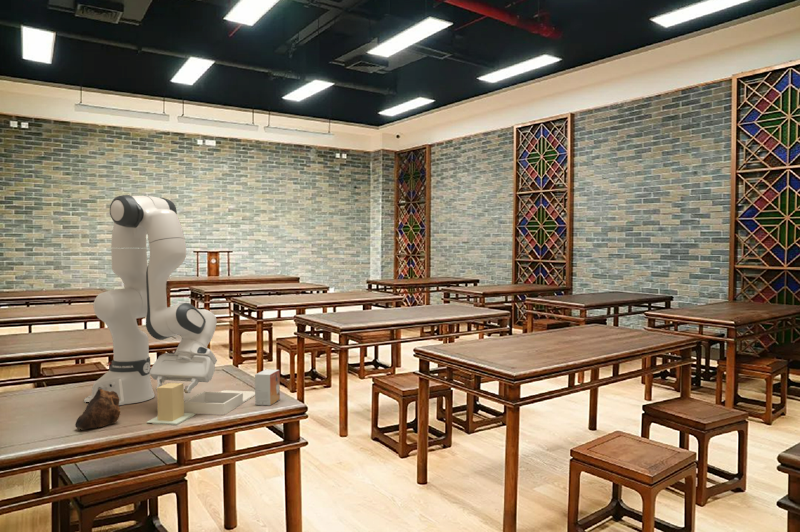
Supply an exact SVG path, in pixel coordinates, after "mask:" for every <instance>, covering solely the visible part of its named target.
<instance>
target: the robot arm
mask: <svg viewBox="0 0 800 532" xmlns="http://www.w3.org/2000/svg"><path fill="white" fill-rule="evenodd" d="M109 205H110V206H109V215H110V218H111V220H112V222H113V225H112V233H111V243H110V244H111V245H110V248H111V249H110V250H111V254H110V255H111V270H112V272H113V273H114V275H116V276H118V277H120V279H121V281H122V282H123V283H122V284H123V286H124V287H123V288H116V289H113V288H112V289H110V290H106V291H104V292H100V293H99V294H98V295H97V296H96V297H95V299H94V301H93V312H94V314H95V315H96V317H97V319H99V320H101V321H102V322H103V323H105V325H106V326H107V328H108V330H109V332H110V335H111V338H112V346H113V347H112V348H113V359H112V360H111V361H108V362H106V366H107V367H109V370H108V371H107V372H106V373H104V374H103V375H101V377H100V378H98V379H97V380H96V381H94V383H93V386H92V388H91V394H90V395H88V396H86V397H85V398H84V400H83V403H86V402H90V400H92V399H93V398H94V396H95V395H96V393H97V391H98V390H99V389H102V390H104V391H109V392H111V391H114V392H116V393H117V394H118V397H119V406H123V405H130V404H136V403H142V402H146V401H148V400H152V399H153V398H155V396H156V395H155V392H154V390H153V384H152V379H153V380H156V381H157V382H156V383H157V385H156V388H155V390H156V391H157V387H160V386H162V385H163V384H164V383H165V381H175V382H177V381H179V382H190V383H189V384H188V385H184V394H191V392H192V390H193V389H194V388H195V387H196V386H198V385H199V383H209V382H210V381H212V379H213V376H214V373H215V371H216V364H217V362H218V359H217V357H216V356H215V354H214V353H213V351H212V350H211V349H210V348H208V345H209V344H210V343H211V341H212V339H213V337H214V334H215V331H216V328H217V317H216V315H215V314H214V312H212V311H210V310H208V309H204V308H202V309H201V308H197V307H195V306H194V305H193V304H191V303H187V302H183V303H179V304H175V305H173V306H168V303H167V282H168V279H169V278H170V276H171V275H172V273H173V272H175V270H177V269H178V268H179V267H180V266H181V265H182V264H183V263H184V261H185V260H186V258H187V257H186V256H187V245H186V244H187V243H186V239H185V234H184V230H183V227H182V224H181V222H180V219H179V216H178V214H177V207H176V205H175V203H174V202H173V201H171V200H170V199H167V198H165V197H158V196H157V197H156V196H152V195H147V194H146V195H130V194H122V195H118V196H117V195H116V197H113V200H112V201H111V202H110V204H109ZM147 241H148V243H147ZM147 244H148V245H149V258H148V255H147V254H148V251H147V248H148V247H147ZM148 259H149V260H148ZM142 318H145V329H146V330H147V332H148V334H149V335H150V336H151V337H152V338H153V339H156V340H159V341H164V340H166V339H169V338H172V337H174V336H175V337H176V336H179V337H181V339H180V341H179V343H178V346H177V348H176V350H175V351H174V352H171V353H170V352H164V353H163V354H161V355H159V356H158V357H157V359H156V360H155V361H154V362H153V365H151V357H150V353H149V352H150V351H149V349H150V347H149V343H150V342H149V336H148V334H147V333H146V332H145V331H143V330H141V329H140V327H139V325H138V322H137V321H138V320H137V319H142ZM151 378H152V379H151Z"/></svg>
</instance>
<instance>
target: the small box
mask: <svg viewBox="0 0 800 532" xmlns="http://www.w3.org/2000/svg"><path fill="white" fill-rule="evenodd" d="M280 372H281V371H280V369H270V368H269V369H267V368H264V370H262V371H259V372H258V373H255V374H254V391H255V396H254V399H255V401H254V402H255V403H254V404H255V405H256V406H272V405H273V404H274V403H276V402H278V401H280V400H281V395H280V393H281V392H280V389H281V385H280V379H281V377H280ZM279 399H280V400H279ZM277 400H278V401H277Z"/></svg>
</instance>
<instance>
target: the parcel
mask: <svg viewBox="0 0 800 532" xmlns="http://www.w3.org/2000/svg"><path fill="white" fill-rule="evenodd" d="M156 387H157V386H156ZM184 389H185V386H184V383H182V382H181V383H180V382H166V383H165V384H162V386H160V387H157V390H156V391H157V392H156V393H157V398H156V399H157V416H158V420H161V421H174V420H176V419H178V418H180V417H181V416H183V415H184V401H185V400H184V399H185V397H184V396H185V392H184Z"/></svg>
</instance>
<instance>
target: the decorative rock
mask: <svg viewBox="0 0 800 532" xmlns="http://www.w3.org/2000/svg"><path fill="white" fill-rule="evenodd" d="M120 415H121V408H120V405H119V397H118V394H117V393H116V392H114V391H111V392H109V391H104V390H102V389H99V390H98V391H97V393H96V395H95V396H94V398H93V399H92V400H90V402H89V403H87V405H86V407H85V409H84V410H83V412H82V414H80V415H79V417H78V418H77V419H76V422H75V424H74V426H75V428H77V430H79V429H81V430H80V431H86V430H88V429H94V428H97V427H98V428H103V427H105V426H108V425H113V424H115V423H117V422H118V420H119V418H120Z"/></svg>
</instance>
